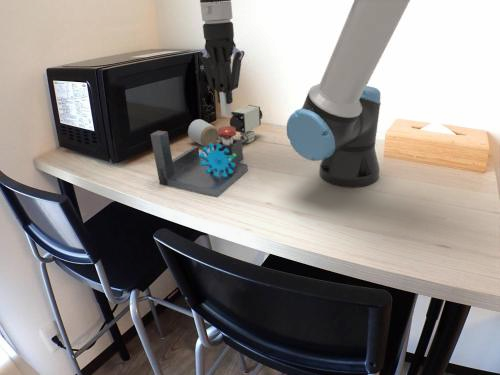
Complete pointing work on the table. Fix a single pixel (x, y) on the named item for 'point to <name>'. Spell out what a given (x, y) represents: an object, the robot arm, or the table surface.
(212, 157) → the blue lobed star wheel
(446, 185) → the table surface
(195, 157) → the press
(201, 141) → the ceramic mug
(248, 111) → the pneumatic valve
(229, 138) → the plunger
